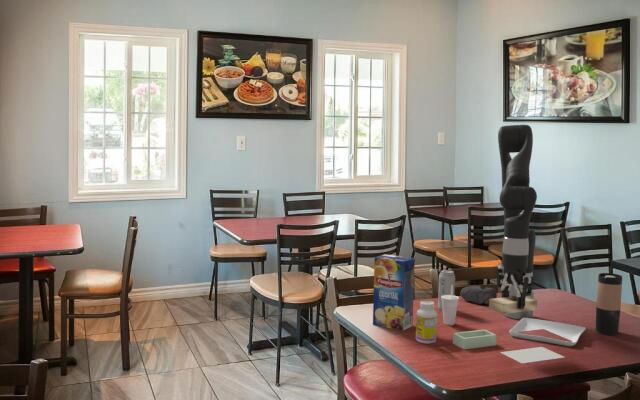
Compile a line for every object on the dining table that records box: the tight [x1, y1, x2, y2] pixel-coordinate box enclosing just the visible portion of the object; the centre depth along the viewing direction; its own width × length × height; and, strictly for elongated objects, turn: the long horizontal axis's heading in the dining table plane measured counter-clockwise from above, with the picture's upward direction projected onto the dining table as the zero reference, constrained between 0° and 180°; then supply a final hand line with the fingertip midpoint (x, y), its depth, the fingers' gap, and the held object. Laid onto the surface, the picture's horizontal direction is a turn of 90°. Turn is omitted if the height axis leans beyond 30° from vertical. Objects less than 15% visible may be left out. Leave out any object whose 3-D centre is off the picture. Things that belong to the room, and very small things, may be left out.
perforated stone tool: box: [459, 285, 498, 306], centre depth 257 cm, size 15×5×7 cm, turn 50°
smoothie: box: [441, 285, 460, 326], centre depth 228 cm, size 6×6×14 cm
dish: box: [452, 329, 497, 350], centre depth 202 cm, size 12×6×4 cm, turn 112°
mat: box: [500, 346, 565, 364], centre depth 194 cm, size 16×10×1 cm, turn 112°
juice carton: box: [372, 253, 416, 331], centre depth 224 cm, size 12×8×24 cm, turn 56°
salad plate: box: [508, 317, 587, 347], centre depth 215 cm, size 21×21×3 cm
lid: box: [488, 295, 538, 315], centre depth 196 cm, size 13×6×4 cm, turn 114°
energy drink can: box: [437, 269, 456, 312], centre depth 246 cm, size 6×6×15 cm
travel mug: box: [595, 272, 623, 336], centre depth 221 cm, size 8×8×20 cm
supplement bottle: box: [415, 300, 438, 345], centre depth 208 cm, size 7×7×13 cm
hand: (512, 305), depth 196 cm, fingers closed on lid, 6 cm apart
